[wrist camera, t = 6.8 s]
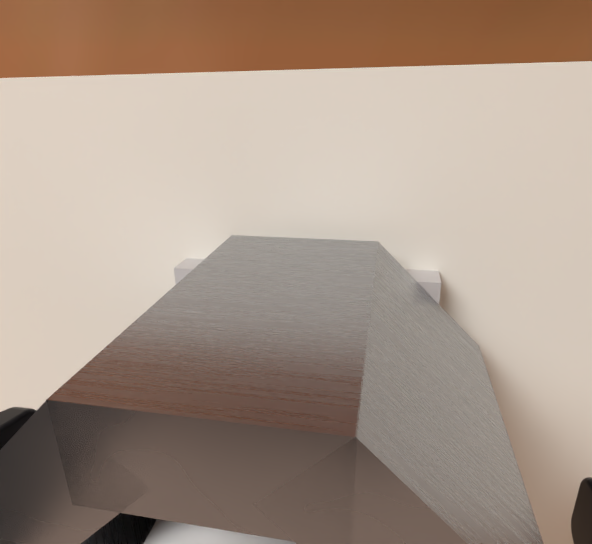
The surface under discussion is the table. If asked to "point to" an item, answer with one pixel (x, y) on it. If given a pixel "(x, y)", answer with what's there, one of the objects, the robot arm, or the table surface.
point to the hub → (275, 414)
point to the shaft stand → (314, 220)
